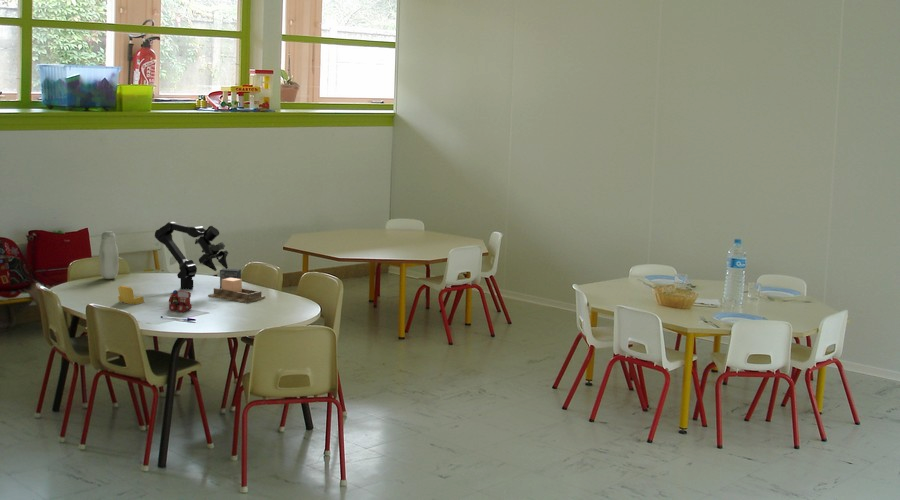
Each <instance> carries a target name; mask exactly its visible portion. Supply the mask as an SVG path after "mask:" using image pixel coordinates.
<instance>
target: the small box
mask: <svg viewBox="0 0 900 500" xmlns="http://www.w3.org/2000/svg"><path fill="white" fill-rule="evenodd" d="M241 272H242V269H239V268H227V269H226V268H222V269H220V270H219V289H222V279H226V278H237V279H242V273H241Z"/></svg>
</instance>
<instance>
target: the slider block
mask: <svg viewBox="0 0 900 500" xmlns="http://www.w3.org/2000/svg"><path fill="white" fill-rule="evenodd" d="M242 287H243V279H242V278H241V279H237V278H226V279H222V288H221V289H223V290H229V291H235V292H240V293H242Z"/></svg>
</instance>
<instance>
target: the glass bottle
mask: <svg viewBox="0 0 900 500" xmlns="http://www.w3.org/2000/svg"><path fill="white" fill-rule="evenodd" d="M100 237H101V238H100V245H99V250H98V251H99V252H98V257H99V259H98V260H99V261H98V262H99V273H100V275H101V277H102V278H103V279H105V280H112V279H113V280H114V279H115V278H116V277H117V275H118V274H119V268H120V267H119V249H118V245H117V242H116V234H115V233H114V231H112V230H105V231H103V232H102V233H101V236H100Z"/></svg>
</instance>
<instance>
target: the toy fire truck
mask: <svg viewBox="0 0 900 500" xmlns="http://www.w3.org/2000/svg"><path fill="white" fill-rule="evenodd" d="M191 294H192V293H191V292H190V291H184V290H183V291H182V290H176V289H174V290H173V292H172V293H171V294H170V296H169V298H168V309H169V312H176V311H178V312H179V313H182V314H183V313H184V312H185V311H190V310H192V308H193V305H192V303H191V297H192V295H191Z"/></svg>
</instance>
